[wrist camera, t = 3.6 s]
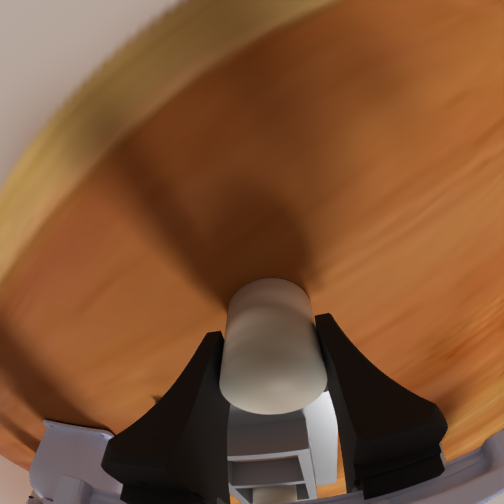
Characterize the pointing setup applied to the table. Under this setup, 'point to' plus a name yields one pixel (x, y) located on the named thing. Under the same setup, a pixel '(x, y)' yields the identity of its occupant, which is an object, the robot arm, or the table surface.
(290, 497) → the beige round piece
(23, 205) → the table surface
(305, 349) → the cream cylinder
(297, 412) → the gray compartment tray
